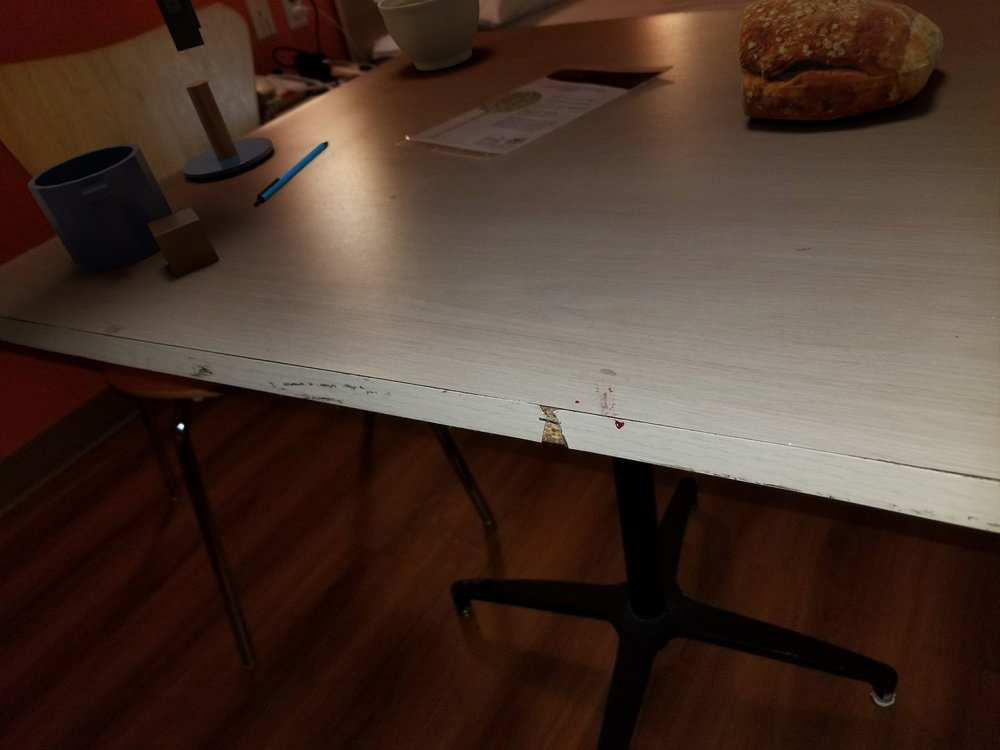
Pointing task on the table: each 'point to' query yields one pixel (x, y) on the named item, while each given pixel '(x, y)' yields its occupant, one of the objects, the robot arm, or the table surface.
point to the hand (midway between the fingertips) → (190, 39)
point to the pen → (288, 174)
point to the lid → (220, 140)
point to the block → (183, 241)
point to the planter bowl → (432, 30)
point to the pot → (102, 206)
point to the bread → (832, 57)
